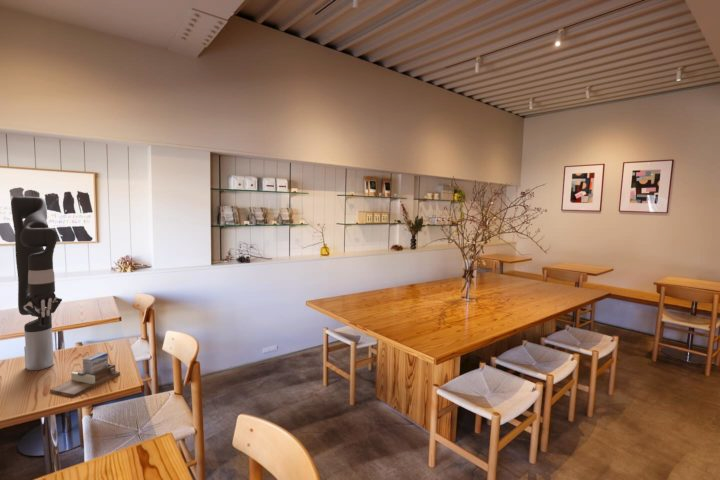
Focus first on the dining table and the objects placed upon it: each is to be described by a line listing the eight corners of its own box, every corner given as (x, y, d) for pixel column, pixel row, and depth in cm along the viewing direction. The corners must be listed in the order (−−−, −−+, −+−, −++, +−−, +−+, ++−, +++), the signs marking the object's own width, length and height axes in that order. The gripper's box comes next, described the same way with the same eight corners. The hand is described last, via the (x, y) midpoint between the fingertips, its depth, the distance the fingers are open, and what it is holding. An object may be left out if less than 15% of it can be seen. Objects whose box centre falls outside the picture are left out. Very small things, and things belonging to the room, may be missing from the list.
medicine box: (91, 380, 153) (90, 360, 152) (83, 378, 154) (82, 358, 153) (108, 372, 161) (108, 352, 160) (100, 370, 162) (99, 351, 161)
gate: (70, 380, 152) (69, 371, 152) (74, 378, 154) (74, 369, 153) (90, 384, 149) (90, 375, 149) (95, 382, 151) (94, 373, 151)
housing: (50, 392, 145) (49, 381, 145) (98, 370, 164) (97, 361, 164) (73, 397, 142) (73, 386, 142) (119, 374, 161) (119, 365, 161)
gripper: (29, 285, 133) (32, 332, 134) (67, 278, 145) (69, 321, 147) (14, 283, 134) (16, 330, 136) (52, 276, 147) (54, 319, 149)
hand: (44, 325), depth 142 cm, fingers closed
